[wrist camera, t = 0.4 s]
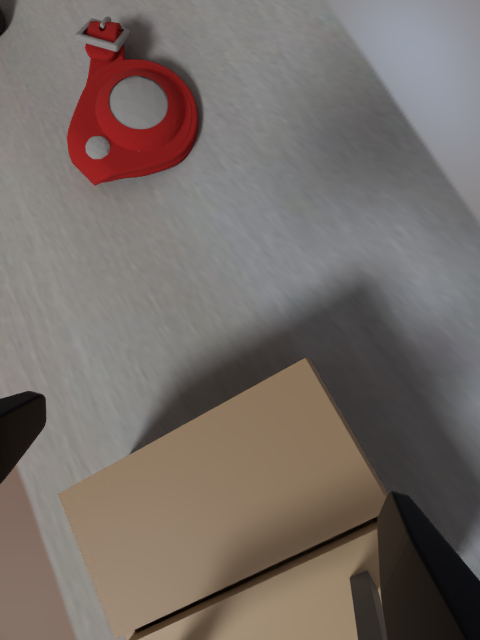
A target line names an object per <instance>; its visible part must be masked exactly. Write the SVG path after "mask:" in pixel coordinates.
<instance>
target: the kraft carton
mask: <svg viewBox="0 0 480 640" xmlns="http://www.w3.org/2000/svg"><path fill="white" fill-rule="evenodd" d="M58 495H59V498H60V500H61V503H62V505H63V508H64V511H65V513H66V516H67V518H68V521H69V523H70V526H71V528H72V531H73V534H74V536H75V539H76V541H77V544H78V546H79V549H80V551H81V554H82V556H83V559H84V562H85V564H86V567H87V569H88V572H89V574H90V577H91V579H92V582H93V584H94V587H95V590H96V592H97V595H98V597H99V600H100V602H101V605H102V607H103V610H104V613H105V615H106V618H107V620H108V623H109V625H110V628H111V630H112V633H113V635H114V638H115V639H116V638H118V637H120V636H122V635H124V636H125V638H126V640H129V639H130V637H131V636H132V635H134V634H136V633H138V632H141V631H143V630H145V629H147V628H149V627H151V626H153V625H156V624H158V623H160V622H162V621H164V620H166V619H168V618H171V617H173V616H175V615H177V614H179V613H181V612H183V611H186V610H188V609H190V608H192V607H194V606H196V605H199V604H201V603H203V602H205V601H207V600H209V599H211V598H214V597H216V596H218V595H220V594H222V593H224V592H226V591H229V590H231V589H233V588H235V587H237V586H239V585H242V584H244V583H246V582H248V581H250V580H252V579H254V578H257V577H259V576H261V575H263V574H265V573H267V572H269V571H272V570H274V569H276V568H278V567H280V566H282V565H285V564H287V563H289V562H291V561H293V560H295V559H297V558H300V557H302V556H304V555H306V554H308V553H310V552H312V551H315V550H317V549H319V548H321V547H323V546H325V545H328V544H330V543H332V542H334V541H336V540H338V539H340V538H343V537H345V536H347V535H349V534H351V533H353V532H355V531H358V530H360V529H362V528H364V527H366V526H368V525H371V524H373V523H375V522H377V520H378V516H379V513H380V511H381V508H382V506H383V504H384V501H385V499H386V497H387V495H388V493H387V491H386V489H385V487H384V486H383V484H382V482H381V481H380V479H379V477H378V475H377V474H376V472H375V470H374V468H373V467H372V465H371V463H370V462H369V460H368V458H367V456H366V455H365V453H364V451H363V449H362V448H361V446H360V444H359V443H358V441H357V439H356V437H355V436H354V434H353V432H352V430H351V429H350V427H349V425H348V424H347V422H346V420H345V418H344V417H343V415H342V413H341V411H340V410H339V408H338V406H337V405H336V403H335V401H334V399H333V398H332V396H331V394H330V392H329V391H328V389H327V387H326V386H325V384H324V382H323V380H322V379H321V377H320V375H319V373H318V372H317V370H316V368H315V367H314V365H313V363H312V361H311V360H310V358H309V357H308V358H304V359H302V360H300V361H298V362H297V363H295V364H293V365H291V366H289V367H287V368H286V369H284V370H282V371H280V372H278V373H277V374H275V375H273V376H271V377H269V378H268V379H266V380H264V381H262V382H260V383H258V384H257V385H255V386H253V387H251V388H249V389H248V390H246V391H244V392H242V393H240V394H239V395H237V396H235V397H233V398H231V399H229V400H228V401H226V402H224V403H222V404H220V405H219V406H217V407H215V408H213V409H211V410H210V411H208V412H206V413H204V414H202V415H200V416H199V417H197V418H195V419H193V420H191V421H190V422H188V423H186V424H184V425H182V426H181V427H179V428H177V429H175V430H173V431H172V432H170V433H168V434H166V435H164V436H162V437H161V438H159V439H157V440H155V441H153V442H152V443H150V444H148V445H146V446H144V447H143V448H141V449H139V450H137V451H135V452H133V453H132V454H130V455H128V456H126V457H124V458H123V459H121V460H119V461H117V462H115V463H114V464H112V465H110V466H108V467H106V468H104V469H103V470H101V471H99V472H97V473H95V474H94V475H92V476H90V477H88V478H86V479H85V480H83V481H81V482H79V483H77V484H75V485H74V486H72V487H70V488H68V489H66V490H65V491H63V492H61V493H59V494H58Z"/></svg>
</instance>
